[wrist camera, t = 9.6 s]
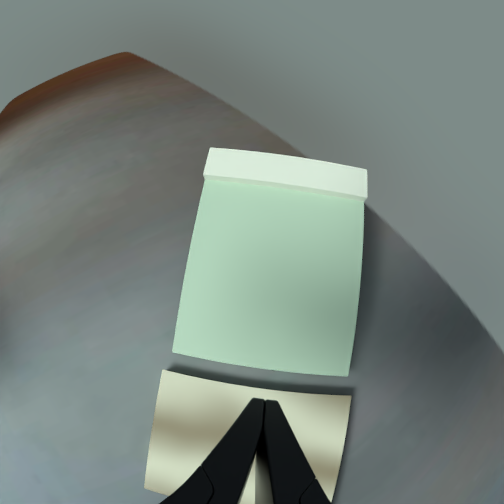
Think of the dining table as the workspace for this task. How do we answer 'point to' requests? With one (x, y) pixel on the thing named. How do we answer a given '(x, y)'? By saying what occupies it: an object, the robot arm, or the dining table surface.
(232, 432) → the robot arm
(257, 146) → the dining table surface
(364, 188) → the panel
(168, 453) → the plate
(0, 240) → the dining table surface
